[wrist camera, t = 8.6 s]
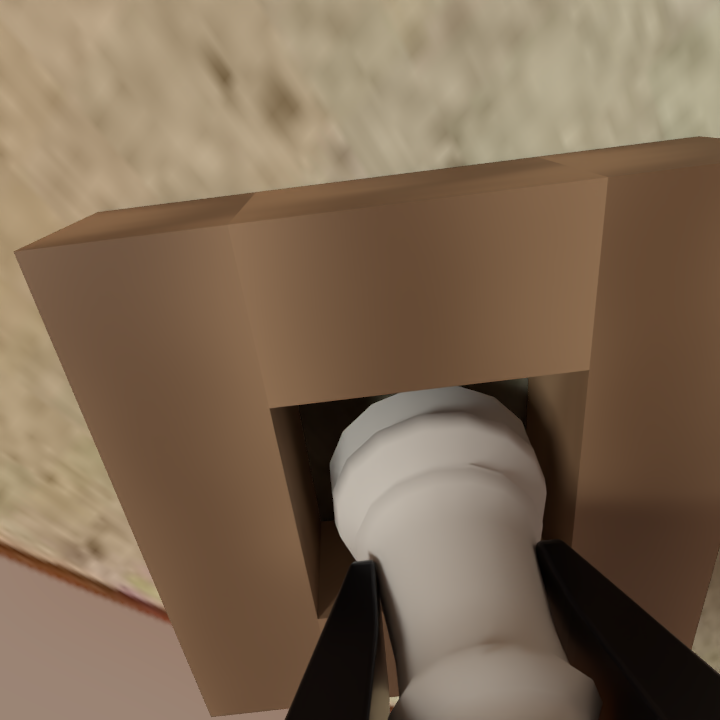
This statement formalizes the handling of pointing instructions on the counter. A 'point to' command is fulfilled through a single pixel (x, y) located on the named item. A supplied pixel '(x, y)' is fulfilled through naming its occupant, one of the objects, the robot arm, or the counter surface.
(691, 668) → the robot arm
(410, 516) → the rook chess piece
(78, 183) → the counter surface
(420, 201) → the walnut socket
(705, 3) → the counter surface
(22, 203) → the counter surface
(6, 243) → the counter surface
